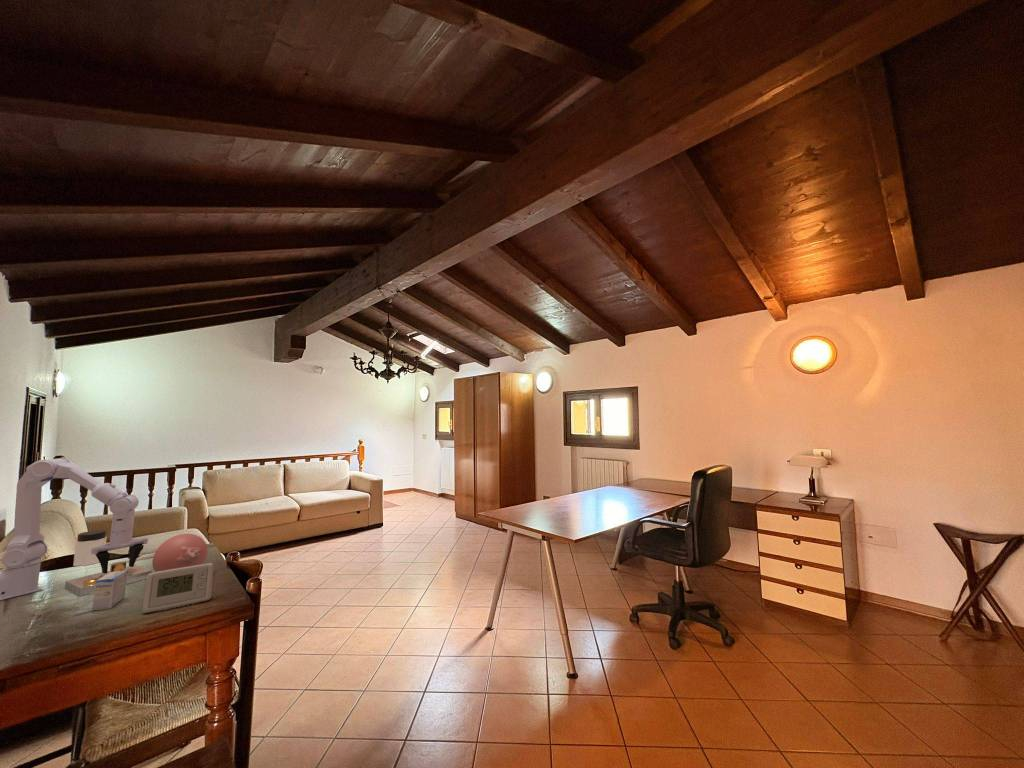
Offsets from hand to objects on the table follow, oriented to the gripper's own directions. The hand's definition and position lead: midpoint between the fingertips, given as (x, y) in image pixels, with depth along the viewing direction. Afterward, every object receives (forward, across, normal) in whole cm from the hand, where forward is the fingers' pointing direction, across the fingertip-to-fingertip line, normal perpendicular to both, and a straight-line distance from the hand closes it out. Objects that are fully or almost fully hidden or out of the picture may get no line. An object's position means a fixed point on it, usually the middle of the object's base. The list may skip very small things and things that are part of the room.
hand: (118, 569), depth 140 cm
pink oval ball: (+4, +11, -20) cm, 23 cm away
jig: (+4, -2, 0) cm, 4 cm away
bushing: (+4, 0, 0) cm, 4 cm away
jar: (+4, +3, +38) cm, 38 cm away
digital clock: (+4, +1, -44) cm, 44 cm away
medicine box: (+4, -9, -24) cm, 26 cm away
